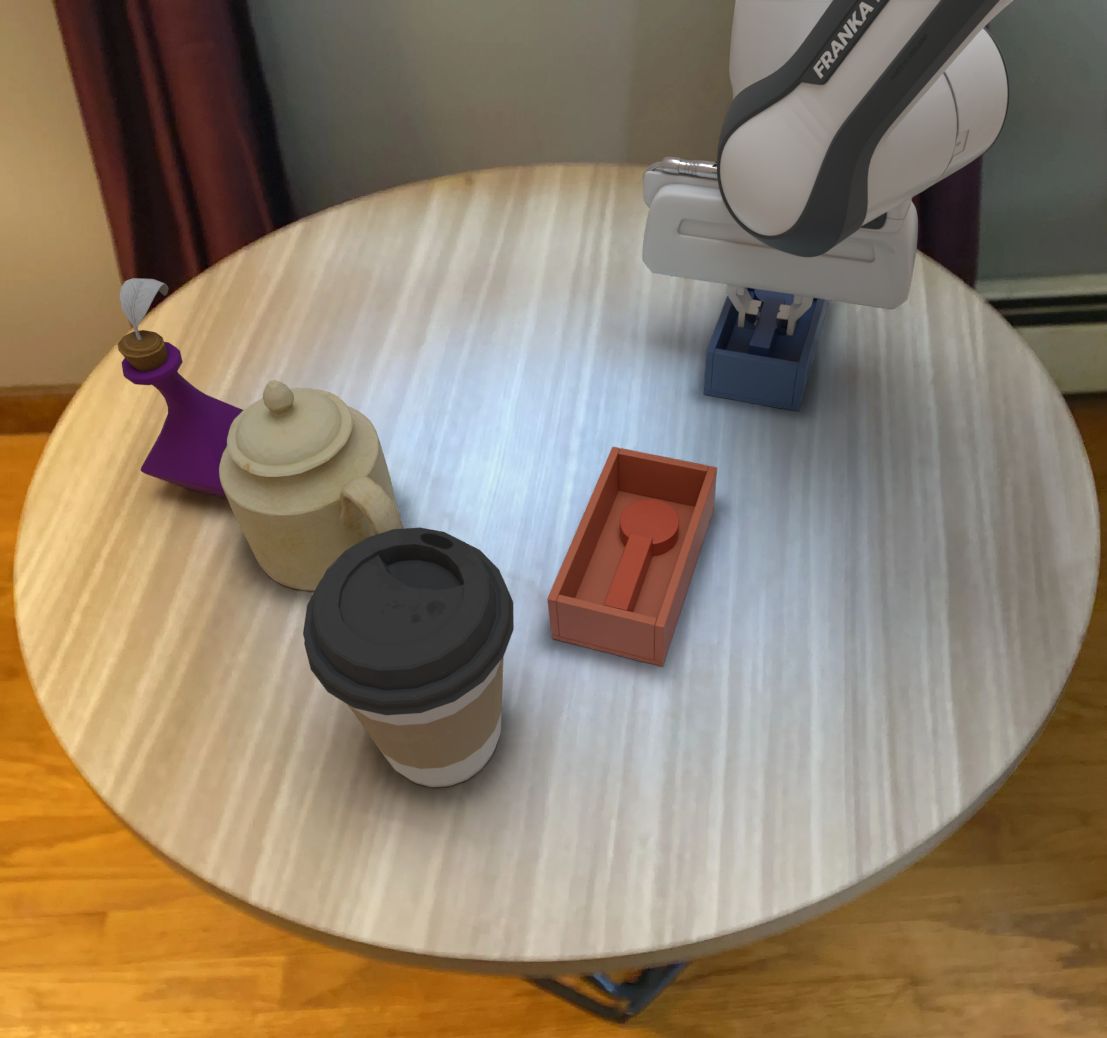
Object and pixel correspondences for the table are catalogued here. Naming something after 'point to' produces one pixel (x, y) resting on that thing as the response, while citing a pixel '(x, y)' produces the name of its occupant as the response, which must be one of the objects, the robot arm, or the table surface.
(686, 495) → the red bin
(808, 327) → the blue bin
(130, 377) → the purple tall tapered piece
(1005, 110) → the robot arm
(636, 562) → the red spoon
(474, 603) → the coffee cup
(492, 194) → the table surface
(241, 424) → the sugar bowl
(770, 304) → the blue spoon
